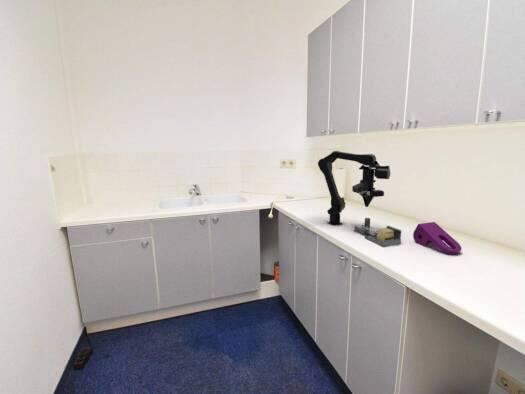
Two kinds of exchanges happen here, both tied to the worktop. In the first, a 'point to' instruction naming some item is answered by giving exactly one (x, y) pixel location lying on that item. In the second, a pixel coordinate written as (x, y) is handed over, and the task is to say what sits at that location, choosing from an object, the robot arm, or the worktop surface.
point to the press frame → (394, 241)
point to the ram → (368, 228)
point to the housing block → (385, 234)
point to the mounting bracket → (436, 238)
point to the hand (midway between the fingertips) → (366, 206)
